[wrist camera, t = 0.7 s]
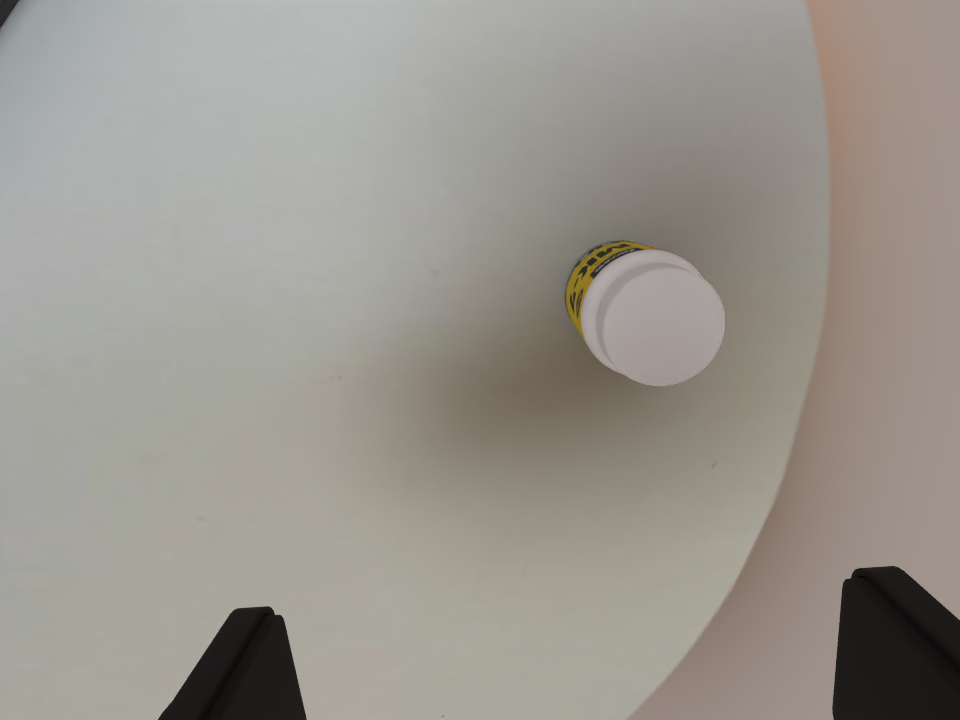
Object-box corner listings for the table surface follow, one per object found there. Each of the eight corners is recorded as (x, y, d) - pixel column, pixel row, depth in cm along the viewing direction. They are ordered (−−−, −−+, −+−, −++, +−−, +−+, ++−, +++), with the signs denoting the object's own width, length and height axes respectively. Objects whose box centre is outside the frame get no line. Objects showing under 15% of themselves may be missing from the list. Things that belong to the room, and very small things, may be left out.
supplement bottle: (606, 219, 25) (660, 222, 17) (685, 280, 26) (772, 312, 18) (542, 302, 26) (562, 343, 18) (618, 360, 27) (671, 424, 19)
